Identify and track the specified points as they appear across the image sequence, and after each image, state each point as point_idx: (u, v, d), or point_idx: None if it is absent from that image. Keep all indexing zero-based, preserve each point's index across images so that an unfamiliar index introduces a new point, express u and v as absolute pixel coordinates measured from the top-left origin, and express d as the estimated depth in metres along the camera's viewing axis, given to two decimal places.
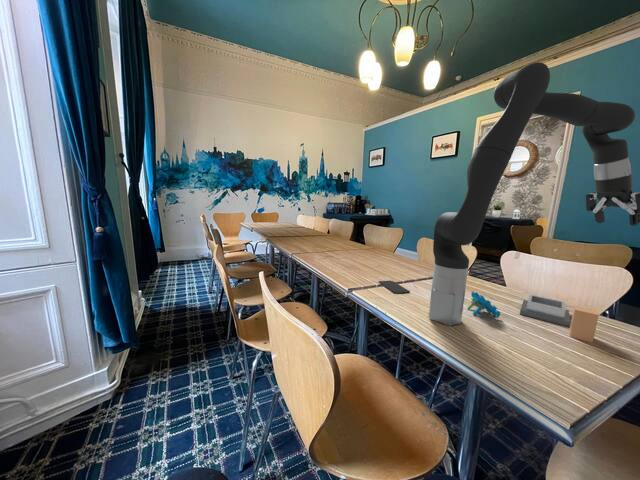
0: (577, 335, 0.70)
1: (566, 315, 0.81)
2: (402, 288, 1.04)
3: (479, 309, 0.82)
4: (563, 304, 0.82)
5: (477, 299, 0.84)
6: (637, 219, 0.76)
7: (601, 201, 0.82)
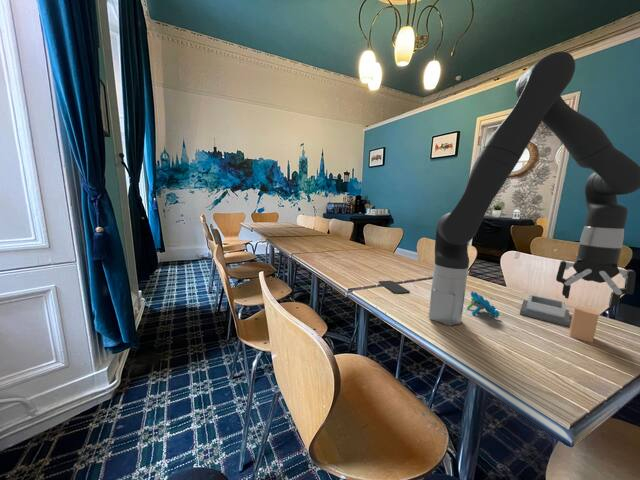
0: (577, 335, 0.70)
1: (566, 315, 0.81)
2: (402, 288, 1.04)
3: (478, 309, 0.82)
4: (563, 304, 0.82)
5: (476, 299, 0.84)
6: (618, 301, 0.65)
7: (583, 273, 0.68)
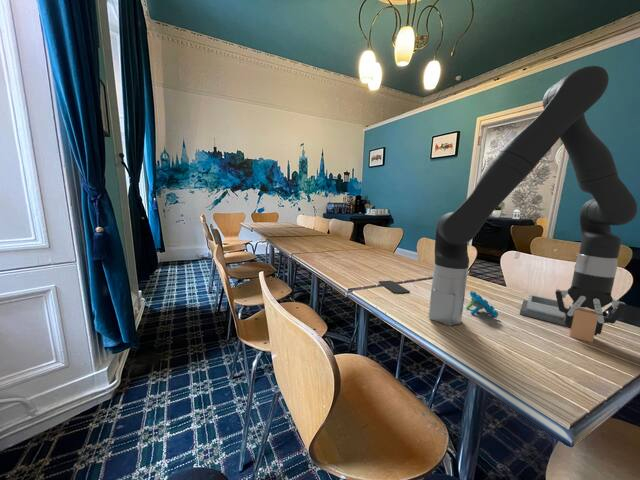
0: (577, 335, 0.70)
1: None
2: (402, 288, 1.04)
3: (477, 309, 0.82)
4: None
5: (475, 299, 0.84)
6: (601, 329, 0.68)
7: (579, 300, 0.69)
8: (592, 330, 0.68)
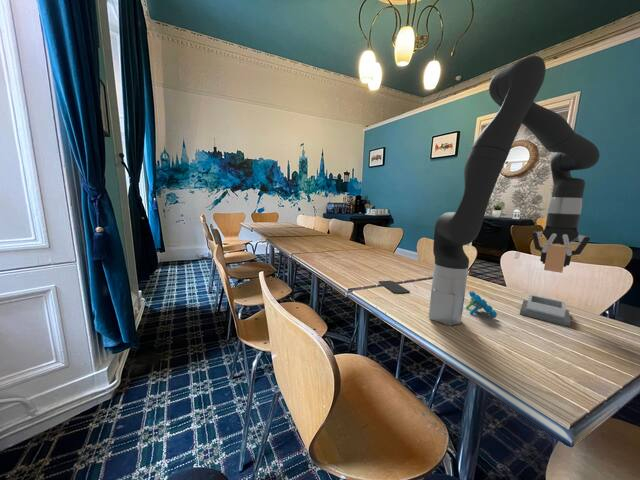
0: (550, 268, 0.81)
1: (566, 315, 0.81)
2: (402, 288, 1.04)
3: (476, 308, 0.82)
4: (563, 304, 0.82)
5: (475, 299, 0.84)
6: (569, 261, 0.79)
7: (551, 238, 0.81)
8: (562, 262, 0.79)
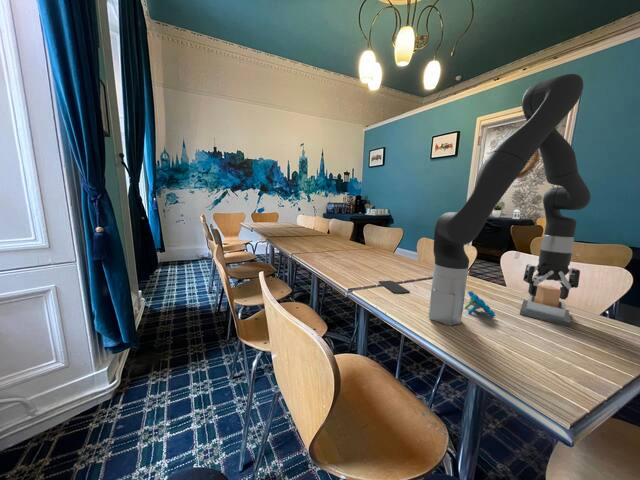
0: None
1: (566, 315, 0.81)
2: (402, 288, 1.04)
3: (474, 308, 0.82)
4: (563, 304, 0.82)
5: (473, 298, 0.84)
6: None
7: (547, 274, 0.81)
8: (556, 303, 0.82)
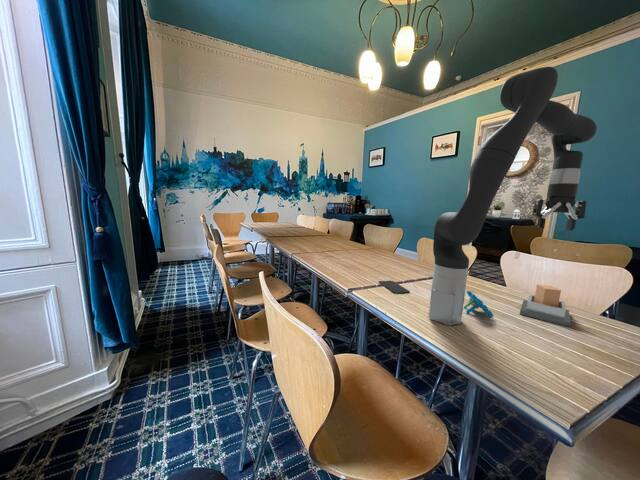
0: None
1: (566, 315, 0.81)
2: (402, 288, 1.04)
3: (472, 308, 0.83)
4: (563, 304, 0.82)
5: (472, 298, 0.85)
6: None
7: (555, 206, 0.87)
8: (556, 303, 0.82)
